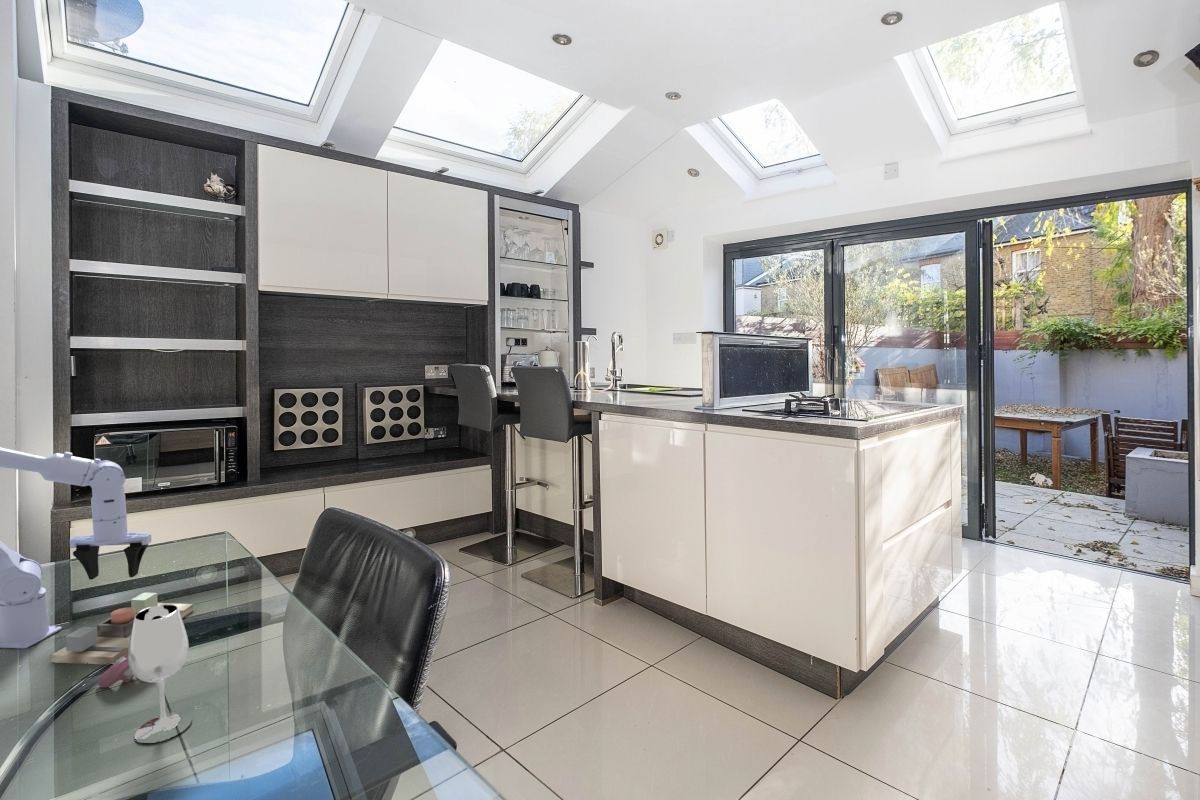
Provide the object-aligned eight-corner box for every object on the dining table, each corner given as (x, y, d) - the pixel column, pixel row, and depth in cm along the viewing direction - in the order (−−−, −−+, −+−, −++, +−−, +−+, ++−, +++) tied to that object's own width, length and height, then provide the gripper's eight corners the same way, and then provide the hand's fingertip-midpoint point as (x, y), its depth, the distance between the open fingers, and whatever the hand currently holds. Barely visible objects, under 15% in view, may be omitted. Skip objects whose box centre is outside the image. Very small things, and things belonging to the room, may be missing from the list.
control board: (51, 662, 112) (49, 642, 112) (142, 608, 134) (140, 592, 134) (112, 664, 112) (111, 645, 112) (193, 610, 134) (192, 593, 133)
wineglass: (154, 713, 98) (147, 601, 96) (203, 712, 99) (197, 600, 97) (120, 746, 91) (112, 624, 88) (174, 744, 91) (166, 624, 89)
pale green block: (131, 612, 128) (130, 599, 128) (144, 605, 132) (143, 592, 131) (145, 613, 128) (144, 600, 128) (157, 605, 132) (157, 592, 131)
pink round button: (106, 627, 120) (105, 616, 119) (122, 618, 124) (121, 606, 123) (125, 628, 120) (124, 616, 119) (140, 618, 124) (140, 607, 123)
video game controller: (111, 699, 104) (124, 669, 103) (92, 685, 105) (104, 655, 103) (163, 668, 114) (174, 640, 112) (145, 656, 114) (156, 628, 113)
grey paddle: (66, 651, 113) (65, 636, 112) (83, 641, 116) (82, 627, 116) (81, 651, 113) (80, 637, 112) (98, 641, 116) (97, 627, 116)
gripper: (58, 524, 122) (63, 586, 123) (137, 521, 125) (141, 581, 127) (79, 514, 129) (84, 572, 130) (154, 511, 132) (158, 569, 133)
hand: (113, 576), depth 129 cm, fingers open, 7 cm apart
